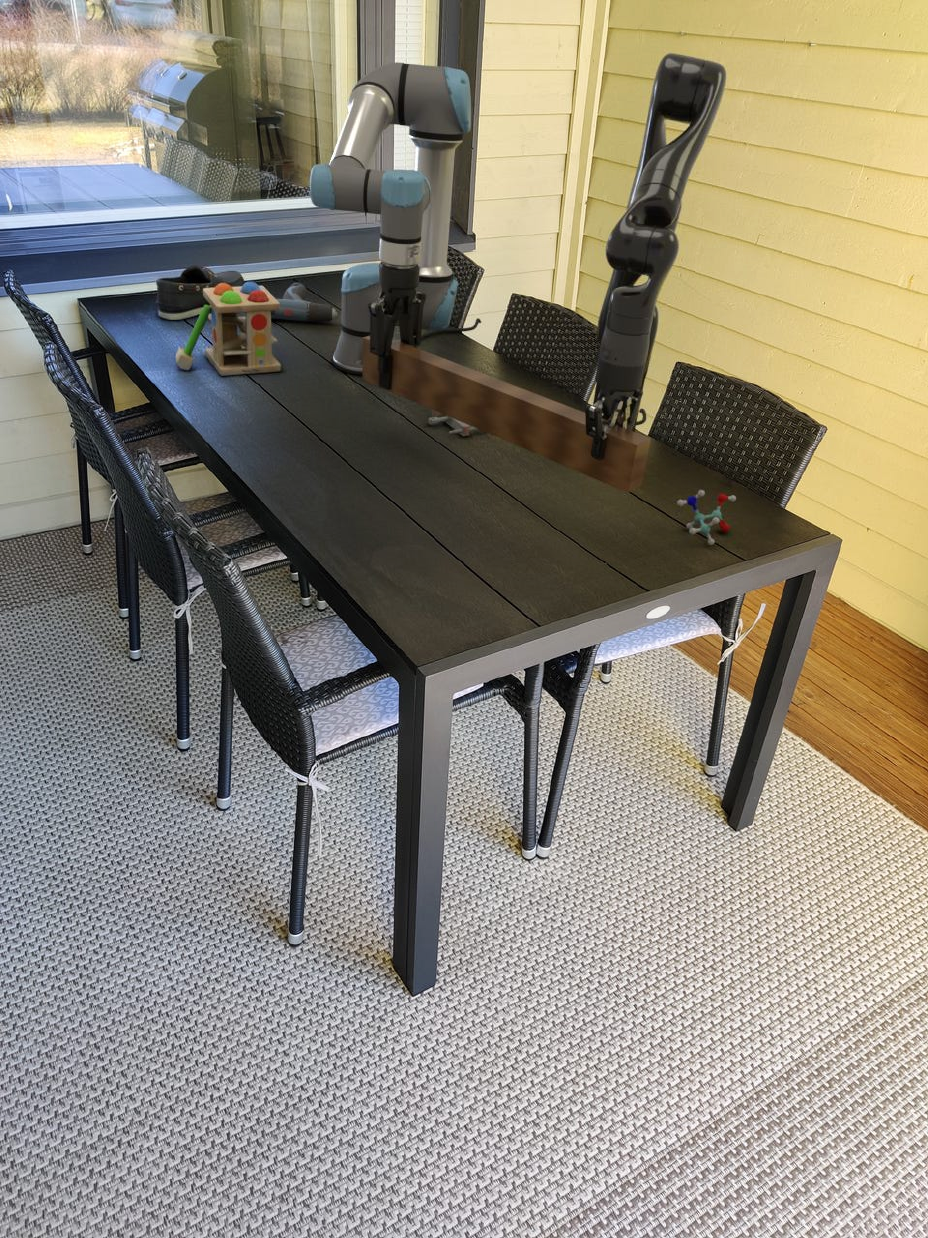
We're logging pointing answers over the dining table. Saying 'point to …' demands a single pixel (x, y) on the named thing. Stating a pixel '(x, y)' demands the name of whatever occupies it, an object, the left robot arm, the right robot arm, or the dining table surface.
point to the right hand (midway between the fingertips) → (605, 453)
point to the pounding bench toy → (229, 347)
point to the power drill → (301, 307)
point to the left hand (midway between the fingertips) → (394, 384)
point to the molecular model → (700, 517)
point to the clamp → (452, 424)
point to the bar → (511, 414)
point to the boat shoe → (190, 291)
